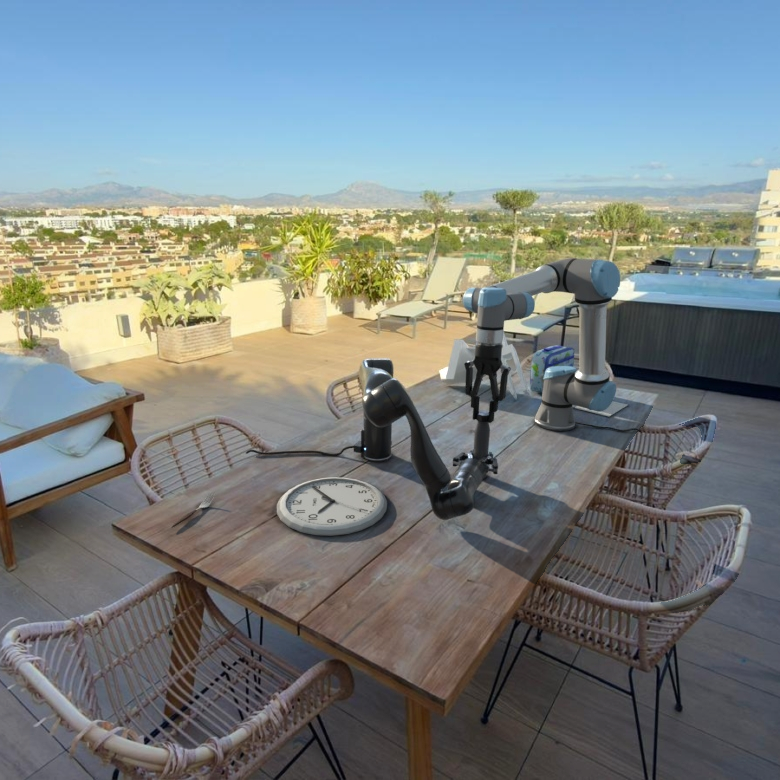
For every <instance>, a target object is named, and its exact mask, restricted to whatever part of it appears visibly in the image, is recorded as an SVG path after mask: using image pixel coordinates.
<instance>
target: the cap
mask: <svg viewBox="0 0 780 780" xmlns="http://www.w3.org/2000/svg"><path fill="white" fill-rule="evenodd" d="M488 418H489V411H487V410H479V411H478V412H477V413H476V419H475V420H476V421H477V422H478V421H480V422H488Z"/></svg>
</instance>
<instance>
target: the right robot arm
mask: <svg viewBox="0 0 780 780" xmlns="http://www.w3.org/2000/svg"><path fill="white" fill-rule="evenodd" d="M620 286H621V272H620V270H619V268H618V266H617V265H616V264H615V263H614V262H613V261H611V260H604V259H597V258H595V259H593V258H592V259H591V258H576V257H570V258H563V259H559V260H556V261H552V262H548V263H545V264H543V265H540V266H538V267H537V268H536V270H534V271H531V272H527V273H525V274H522V275H519V276H516V277H513V278H509V279H506V280H504V281H501V282H498V283H495V284H491V285H489V286H485V287H482V288H481V287H470V288H468V289H466V291H465V292H464V294H463V296H462V305H463V307H464V308H465V310H466V311H468V312H472V313H474V314H477V320H476V331H475V342H476V343H475V345H474V346H475V358H474V359H473V361H468V362H466V363H465V364H464V365H465V369H466V383H465V384H464V385H465V386H464V387H465V388H464V389H465V390H464V393H465V395H466V396H469V397H470V408H471V409H472V420H473V421H475V420H476V413H477V412H478V411H480V401H481V400H480V399H481V397H480V396H478V395H479V391H480V388H481V384H482V381H483V380H482V378H483V379H484V377H483V375H486V376H488V380H489V385H490V392H491V400H490V401H489V405H488V406H489V407H488V412H489V418H488V423H489V424H492V423H493V422H494V421H495V413H496V412H498V410H499V403H500V402H502V401H504V400H505V399H506V396H507V388H508V387H507V386H508V384H507V379H508V374H509V372H510V373H511V369H512V368H511V367H510V366H508V367H506V366H504V365H502V361H501V354H502V348H503V345H502V341H503V331H504V327H505V322H506V321H512V320H522V319H526V318H529V317H530V316H532V314H533V313H534V311H535V307H536V302H535V300H534V296H537V295H538V294H539V295H540V294H542V293H543V294H550V293H553V292H554V293H555V292H556V293H567V294H572V295H573V294H574V302H575V304H576V305H578V306H579V319H578V320H579V333H578V334H579V338H578V339H579V341H578V342H579V345H578V347H579V348H578V349H579V350H578V351H579V352H578V353H579V354H578V359H579V360H578V361H579V362H578V368H577V367H576V366H573V367H571V366H554V367H550V368H547V369H546V371H545V375H544V378H543V379H544V382H543V391H542V393H541V402H540V405H539V407H538V410H537V411H536V413H535V416H534V424H535V425H536V426H537V427H539V428H542V429H544V430H549V431H556V432H567V431H572V430H574V429H575V428H576V425H579V426H584V427H585V426H586V427H591V428H596V429H606V430H607V429H608V430H613V431H616V432H622V433H627V432H631V431H637V432H638V433H640V434H643V431H642V430H641V429H639V428H636V427H633V428H627V429H619V428H615V427H612V426H602V425H601V426H600V425H595V424H590V423H583V422H577V421H576V418H575V417H576V416H575V413H574V407H573V405H574V406H580V407H583V408H587V409H589V410H594V411H598V412H601V411H604V410H605V409H607V408H608V407H609V405H610V404H611V403H612V401H614V400H615V399H614V398H616V397H615V396H616V394H617V393H616V392H617V384H616V383H615V382H614V381H612V380H610V372H609V371H608V370H607V369H606V352H607V351H606V348H607V347H606V345H607V343H606V342H607V312H608V311H607V307H608V305H609V304H610V303H611V302H612V301H613V297H615V296H616V295H617V293H618V291H619V288H620ZM474 365H475V367H476V369H477V374H476V379H475V383H474V382H473V367H474ZM499 370H500V373H501V375H500V382H499V385H498V373H497V372H498V371H499Z"/></svg>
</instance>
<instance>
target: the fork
mask: <svg viewBox="0 0 780 780" xmlns="http://www.w3.org/2000/svg"><path fill="white" fill-rule="evenodd" d="M216 495H217V494H212V493H208V494H207V495H206V497H205V498H204V499H203V501H202V502H201V503H200V505H198V507H197V508H196V509H193V510H192V511H190V512H188V513H187V514H185V515H183V517H181V518H180V519H179V520H178V521H176V522H175V523H174V524H173V525H172V526H171V529H173V528H175V527H176V526H178V525H179V524H181V523H183V522H184V521H186V520H188V519H189V518H191V517H192V516H193V515H194V514H195V513H197V511H198V510H200V509H207V508H208V507H210V505H211V504H212V502H213V501H214V499H215V497H216Z"/></svg>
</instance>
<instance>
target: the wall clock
mask: <svg viewBox="0 0 780 780" xmlns="http://www.w3.org/2000/svg"><path fill="white" fill-rule="evenodd" d="M387 509H388V500H387V498H386V496H385V494H384V493H383V492H382V491H381V490H380V489H379V488H377V487H376V486H374V485H372V484H371V483H369V482H365V481H362V480H359V479H355V478H349V477H338V476H337V477H335V476H333V477H332V476H331V477H322V478H317V479H312V480H307V481H305V482H302V483H299V484H297V485H295V486H293V487H292V488H290V489H288V490H287V491H286V492H285V493H284V494H283V495H281V496H280V498H279V499H278V502H277V503H276V515H277V517H278V518H279V520H280V521H281V522H282V523H283V524H285V525H286V526H287V527H288V528H290V529H293V530H295V531H297V532H299V533H303V534H308V535H312V536H327V537H328V536H329V537H331V536H332V537H333V536H342V535H350V534H352V533H356V532H361V531H363V530H366V529H368V528H369V527H372V526H373V525H375V524H376V523H378V522H379V521H380V520H381V519H382V518H383V517H384V516H385V514H386V512H387Z"/></svg>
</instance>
